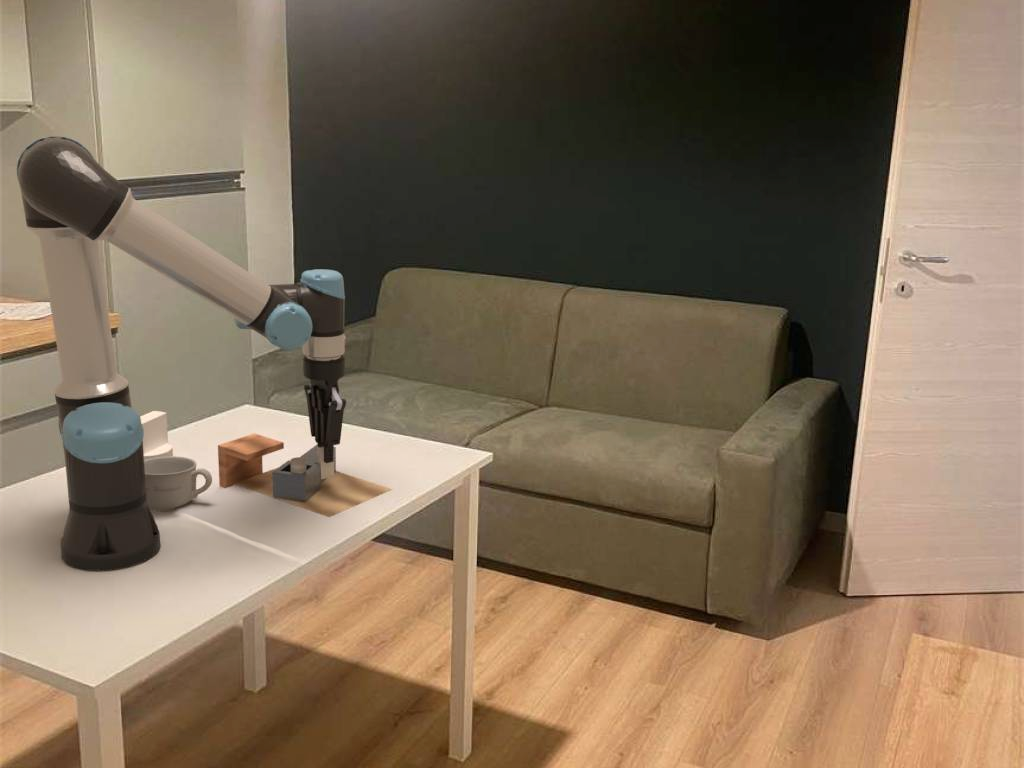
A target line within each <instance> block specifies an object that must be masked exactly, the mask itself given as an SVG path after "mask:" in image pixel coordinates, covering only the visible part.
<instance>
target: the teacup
mask: <svg viewBox="0 0 1024 768" xmlns="http://www.w3.org/2000/svg"><path fill="white" fill-rule="evenodd" d="M144 469H145V484H146V500H147V504H148V507H149V509H150V511H156V512H170V511H176V508H179V507H182V506H184V505H187V504H189V502H191V501H192V500H195V499H197V497H198V496H199V495H201V494H202V493H204V492H205V491H207V490H208V489H209V488H210V487H211V486H212V483H213V476H212V475H211V473H210V471H208V470H207V469H205V468H197V461H195V460H194V459H192V458H189V457H185V456H175V455H173V456H169V457H156V458H151V459H146V460H144ZM199 475H201V476H203V477H204V479H205V483H204V485H202V487H200V488H197V477H198V476H199Z"/></svg>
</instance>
